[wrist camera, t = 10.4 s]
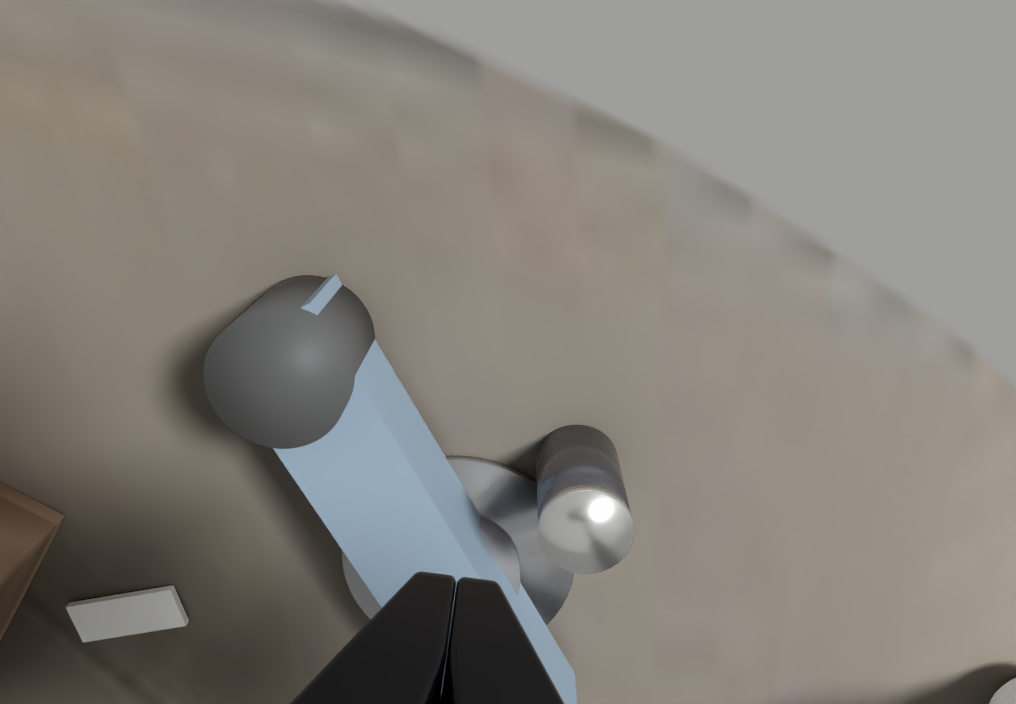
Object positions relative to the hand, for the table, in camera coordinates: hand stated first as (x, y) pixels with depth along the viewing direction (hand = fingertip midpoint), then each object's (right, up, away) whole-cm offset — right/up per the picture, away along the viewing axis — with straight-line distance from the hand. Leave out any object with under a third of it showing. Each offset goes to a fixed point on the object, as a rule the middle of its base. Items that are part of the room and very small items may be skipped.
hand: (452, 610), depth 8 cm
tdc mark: (-10, -4, +13) cm, 17 cm away
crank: (-2, -1, +11) cm, 11 cm away
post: (+2, 0, +11) cm, 11 cm away
